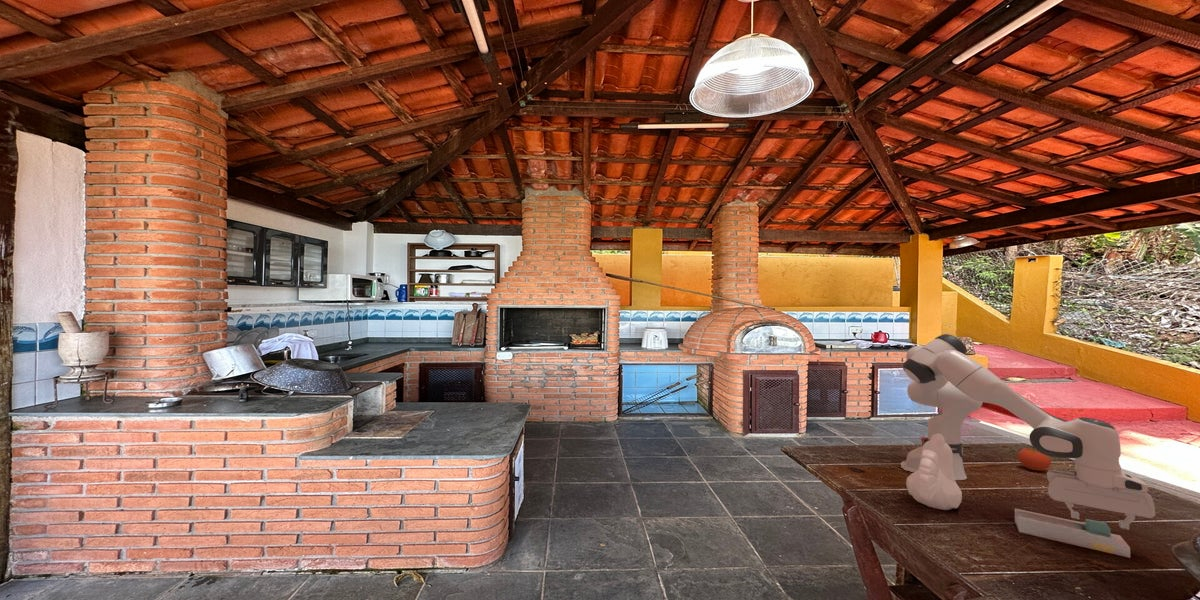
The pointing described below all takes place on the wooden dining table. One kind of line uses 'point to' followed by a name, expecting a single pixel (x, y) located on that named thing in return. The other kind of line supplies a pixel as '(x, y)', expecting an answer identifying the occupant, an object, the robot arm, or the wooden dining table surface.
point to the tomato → (1034, 459)
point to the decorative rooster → (935, 476)
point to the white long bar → (1069, 532)
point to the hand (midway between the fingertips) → (1099, 523)
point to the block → (1098, 527)
